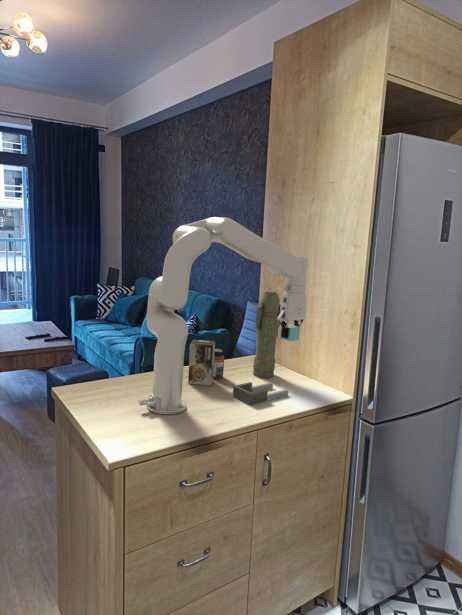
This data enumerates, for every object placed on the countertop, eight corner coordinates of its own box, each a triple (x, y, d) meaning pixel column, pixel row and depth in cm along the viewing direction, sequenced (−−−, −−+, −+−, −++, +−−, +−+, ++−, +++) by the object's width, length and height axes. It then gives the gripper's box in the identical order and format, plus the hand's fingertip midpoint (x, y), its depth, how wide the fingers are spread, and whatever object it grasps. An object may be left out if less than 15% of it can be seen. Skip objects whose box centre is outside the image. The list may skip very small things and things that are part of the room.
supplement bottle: (206, 374, 184) (208, 347, 182) (220, 374, 186) (222, 347, 184) (210, 379, 179) (212, 352, 177) (224, 379, 181) (226, 352, 178)
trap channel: (249, 405, 156) (250, 394, 156) (232, 396, 163) (233, 385, 163) (287, 395, 169) (289, 385, 168) (270, 387, 176) (271, 377, 175)
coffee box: (213, 380, 178) (216, 341, 175) (210, 386, 172) (213, 345, 169) (190, 378, 179) (193, 338, 176) (187, 383, 172) (189, 342, 169)
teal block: (289, 341, 167) (290, 328, 166) (279, 338, 171) (281, 325, 170) (298, 340, 170) (300, 327, 169) (289, 336, 174) (290, 324, 173)
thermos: (280, 375, 191) (289, 293, 184) (261, 380, 183) (269, 295, 176) (265, 369, 197) (273, 290, 191) (245, 373, 189) (253, 291, 183)
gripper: (286, 291, 159) (281, 341, 162) (317, 290, 170) (312, 337, 173) (271, 288, 164) (266, 336, 168) (302, 287, 175) (297, 332, 178)
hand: (289, 336), depth 170 cm, fingers closed on teal block, 5 cm apart
